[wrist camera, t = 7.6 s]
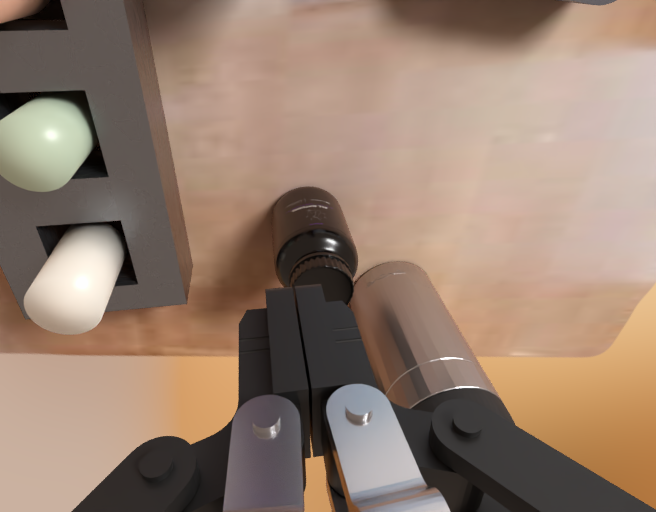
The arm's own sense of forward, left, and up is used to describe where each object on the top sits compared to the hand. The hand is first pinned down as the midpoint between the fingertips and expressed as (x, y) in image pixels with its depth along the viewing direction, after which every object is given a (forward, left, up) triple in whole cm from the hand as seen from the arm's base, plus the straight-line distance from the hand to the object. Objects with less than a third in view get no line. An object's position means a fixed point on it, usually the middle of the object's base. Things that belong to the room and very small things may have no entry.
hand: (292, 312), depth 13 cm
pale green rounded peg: (+3, +14, -28) cm, 31 cm away
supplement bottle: (-13, +1, -29) cm, 32 cm away
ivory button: (-6, +17, -25) cm, 31 cm away
